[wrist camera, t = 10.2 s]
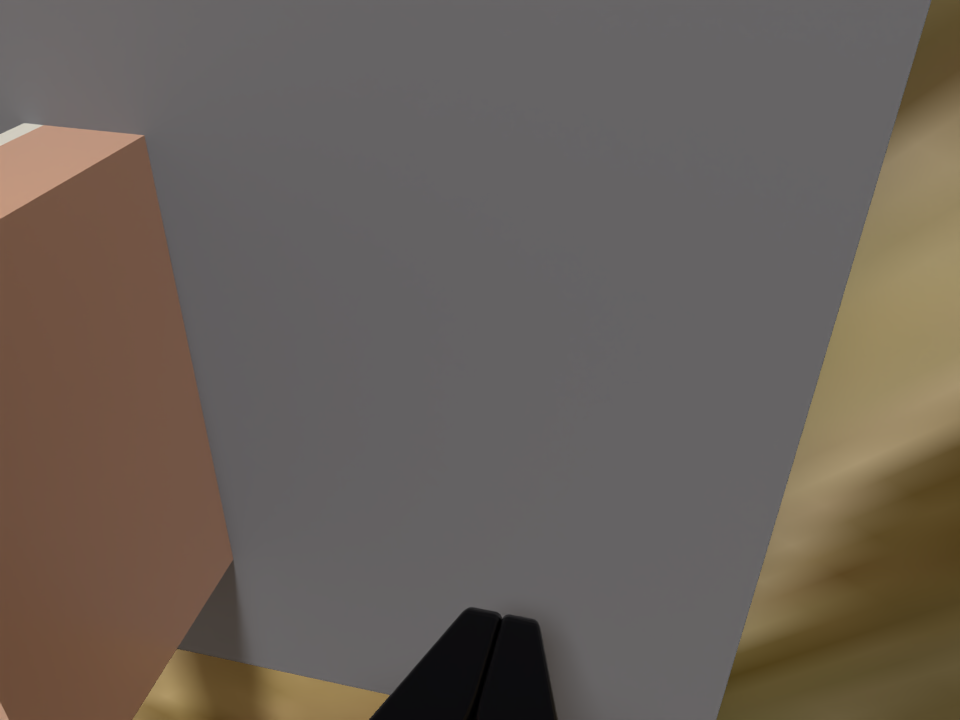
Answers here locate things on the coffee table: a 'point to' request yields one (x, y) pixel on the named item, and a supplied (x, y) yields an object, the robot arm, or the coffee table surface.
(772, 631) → the coffee table surface
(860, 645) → the coffee table surface
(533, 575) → the mat
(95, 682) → the tile
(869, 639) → the coffee table surface
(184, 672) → the coffee table surface
